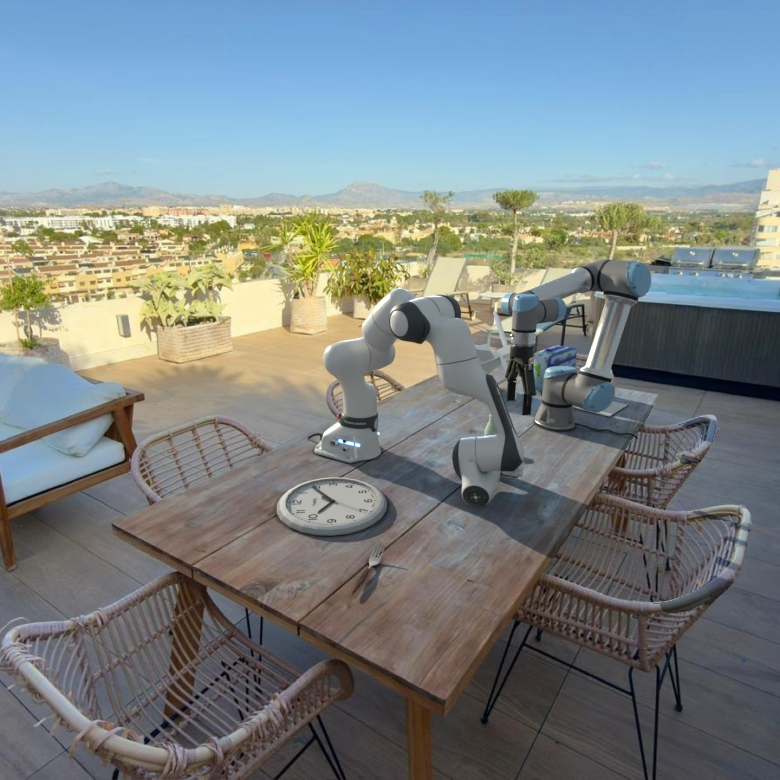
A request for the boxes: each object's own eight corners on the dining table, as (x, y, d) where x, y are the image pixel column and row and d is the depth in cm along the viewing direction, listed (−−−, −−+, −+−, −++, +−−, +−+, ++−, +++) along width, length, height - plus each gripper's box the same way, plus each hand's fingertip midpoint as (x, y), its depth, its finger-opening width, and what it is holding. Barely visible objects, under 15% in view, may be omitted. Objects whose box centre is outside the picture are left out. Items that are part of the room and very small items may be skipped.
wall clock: (392, 527, 129) (268, 531, 127) (391, 533, 130) (269, 537, 127) (383, 473, 158) (282, 475, 155) (383, 478, 158) (282, 480, 156)
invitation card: (608, 416, 214) (573, 407, 224) (608, 416, 214) (573, 408, 224) (628, 404, 229) (594, 396, 238) (628, 405, 229) (594, 397, 238)
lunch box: (548, 398, 236) (553, 353, 229) (527, 393, 243) (531, 349, 237) (575, 387, 253) (581, 344, 247) (555, 382, 260) (560, 341, 254)
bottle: (496, 478, 160) (501, 419, 154) (479, 474, 162) (483, 416, 157) (501, 471, 165) (506, 413, 159) (484, 467, 167) (489, 410, 161)
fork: (346, 594, 108) (346, 586, 107) (374, 552, 122) (374, 544, 122) (357, 598, 107) (357, 589, 107) (385, 554, 121) (385, 547, 121)
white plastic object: (461, 429, 252) (437, 405, 227) (444, 352, 274) (420, 323, 250) (535, 404, 240) (518, 377, 215) (510, 326, 262) (492, 293, 237)
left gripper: (523, 467, 146) (527, 448, 158) (451, 456, 152) (460, 439, 165) (521, 487, 148) (525, 467, 160) (450, 476, 154) (459, 457, 166)
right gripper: (497, 336, 176) (494, 395, 182) (526, 354, 152) (521, 422, 159) (519, 335, 177) (514, 394, 183) (551, 353, 153) (545, 420, 160)
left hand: (492, 453), depth 162 cm, fingers closed on bottle, 5 cm apart
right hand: (518, 407), depth 171 cm, fingers open, 13 cm apart
